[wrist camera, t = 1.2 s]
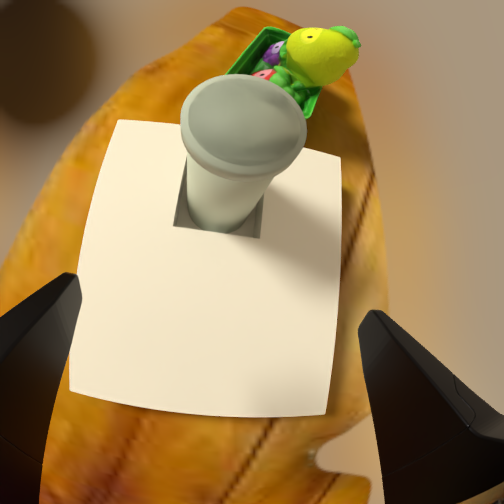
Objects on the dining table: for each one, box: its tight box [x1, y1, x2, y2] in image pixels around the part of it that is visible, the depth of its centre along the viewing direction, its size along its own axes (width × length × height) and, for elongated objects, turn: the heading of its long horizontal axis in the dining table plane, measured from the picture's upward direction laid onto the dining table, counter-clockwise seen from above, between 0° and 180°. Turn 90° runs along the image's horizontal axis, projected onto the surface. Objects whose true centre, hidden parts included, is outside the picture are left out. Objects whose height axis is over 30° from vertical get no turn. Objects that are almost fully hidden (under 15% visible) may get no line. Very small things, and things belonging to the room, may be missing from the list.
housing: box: [69, 120, 342, 417], centre depth 20 cm, size 20×18×4 cm
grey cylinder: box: [181, 74, 307, 234], centre depth 16 cm, size 5×5×11 cm
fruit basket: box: [225, 26, 361, 120], centre depth 20 cm, size 11×9×11 cm
